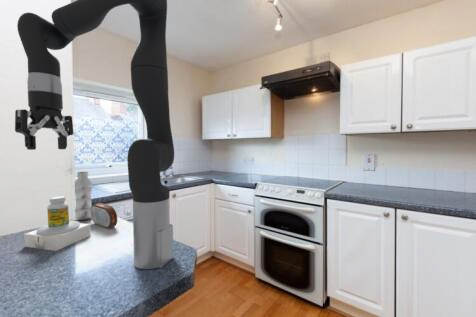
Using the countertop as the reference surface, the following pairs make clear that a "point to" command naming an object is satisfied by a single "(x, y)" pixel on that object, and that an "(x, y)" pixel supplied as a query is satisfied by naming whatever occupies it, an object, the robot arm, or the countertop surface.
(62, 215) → the supplement bottle
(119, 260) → the countertop surface
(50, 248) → the kitchen scale
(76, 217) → the plastic bottle
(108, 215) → the tin
